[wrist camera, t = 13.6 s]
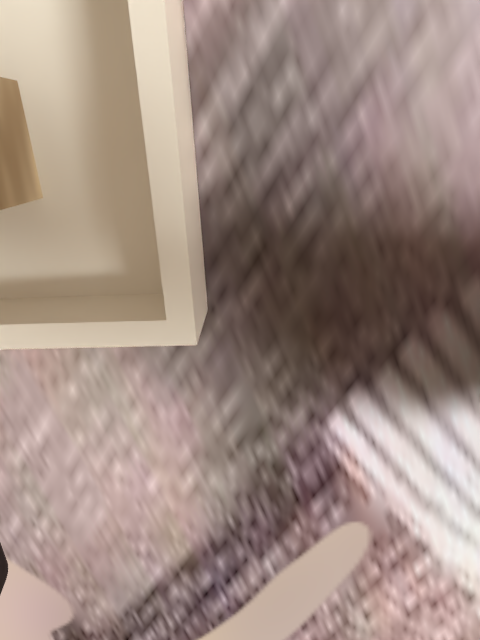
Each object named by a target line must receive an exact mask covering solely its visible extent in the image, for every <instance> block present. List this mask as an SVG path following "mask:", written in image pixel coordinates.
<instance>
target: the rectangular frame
mask: <svg viewBox="0 0 480 640" xmlns="http://www.w3.org/2000/svg"><path fill="white" fill-rule="evenodd" d="M0 77H3V78H8V79H12V80H17V82H18V86H19V91H20V95H21V100H22V104H23V109H24V113H25V118H26V122H27V127H28V131H29V136H30V140H31V145H32V149H33V154H34V158H35V163H36V167H37V172H38V176H39V181H40V185H41V190H42V194H43V198H41V199H38V200H34V201H31V202H27V203H24V204H20V205H17V206H13V207H10V208H6V209H3V210H0V350H3V349H48V348H93V347H139V346H184V345H197V343H198V340H199V337H200V334H201V330H202V327H203V324H204V321H205V317H206V314H207V311H208V305H207V292H206V280H205V267H204V255H203V243H202V230H201V218H200V206H199V193H198V181H197V169H196V156H195V144H194V131H193V119H192V107H191V94H190V82H189V70H188V57H187V45H186V33H185V20H184V8H183V0H0Z"/></svg>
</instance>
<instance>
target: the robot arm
mask: <svg viewBox="0 0 480 640" xmlns="http://www.w3.org/2000/svg"><path fill="white" fill-rule="evenodd" d="M7 574H8V563H7V560H6V557H5V554H4V552H3V549H2V546H1V543H0V594H1V591H2V588H3V586H4V583H5V580H6V578H7Z"/></svg>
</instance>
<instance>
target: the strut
mask: <svg viewBox="0 0 480 640" xmlns="http://www.w3.org/2000/svg"><path fill="white" fill-rule="evenodd" d="M41 198H43V194H42V190H41V185H40V181H39V176H38V172H37V167H36V163H35V158H34V154H33V149H32V145H31V140H30V136H29V131H28V127H27V122H26V118H25V113H24V109H23V104H22V100H21V95H20V91H19V86H18V82H17V80H12V79H8V78H3V77H0V210H3V209H6V208H10V207H13V206H17V205H20V204H24V203H27V202H31V201H34V200H38V199H41Z"/></svg>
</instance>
